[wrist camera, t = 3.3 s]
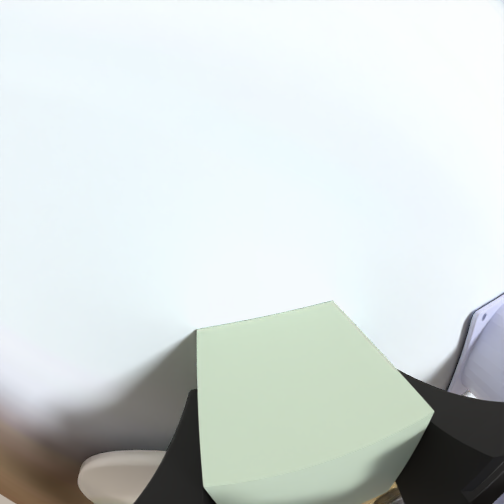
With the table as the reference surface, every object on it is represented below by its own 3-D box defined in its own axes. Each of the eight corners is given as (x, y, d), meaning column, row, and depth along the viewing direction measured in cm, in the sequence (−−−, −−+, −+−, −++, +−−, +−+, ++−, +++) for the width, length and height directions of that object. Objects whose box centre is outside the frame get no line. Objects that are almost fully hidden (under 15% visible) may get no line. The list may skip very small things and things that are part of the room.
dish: (269, 421, 11) (278, 450, 10) (283, 502, 15) (288, 519, 14) (44, 431, 10) (36, 453, 8) (134, 513, 14) (133, 529, 12)
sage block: (332, 300, 10) (434, 411, 4) (330, 392, 12) (387, 491, 6) (196, 329, 9) (203, 486, 4) (223, 417, 11) (244, 535, 5)
